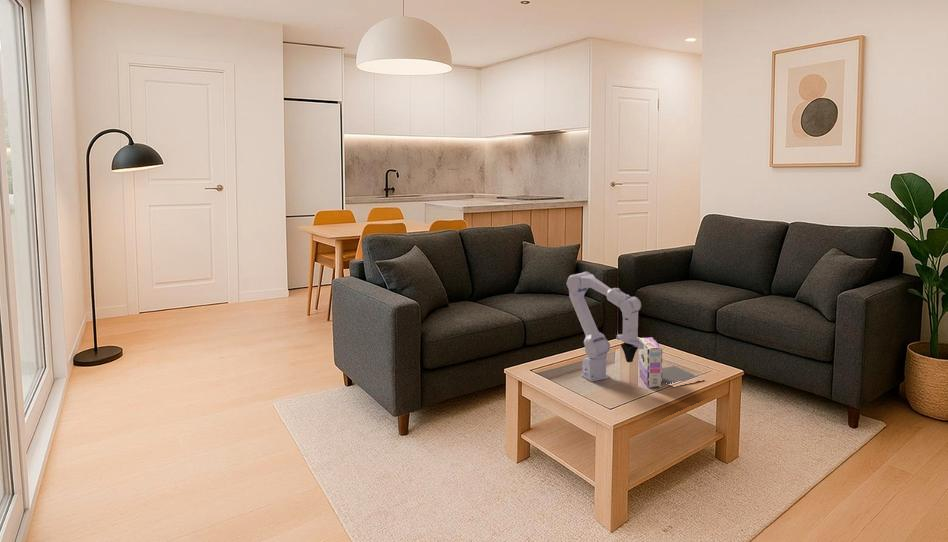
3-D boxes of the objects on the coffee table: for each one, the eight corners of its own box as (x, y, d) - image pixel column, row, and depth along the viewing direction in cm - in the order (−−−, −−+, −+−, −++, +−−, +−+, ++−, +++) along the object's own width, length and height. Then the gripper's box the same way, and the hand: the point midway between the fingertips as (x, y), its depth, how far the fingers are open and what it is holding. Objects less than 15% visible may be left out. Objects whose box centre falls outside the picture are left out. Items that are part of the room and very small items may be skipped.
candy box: (662, 387, 237) (662, 347, 233) (647, 388, 237) (647, 348, 233) (653, 374, 250) (653, 336, 247) (638, 374, 250) (638, 337, 247)
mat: (673, 387, 237) (673, 386, 237) (644, 372, 253) (644, 371, 253) (705, 380, 243) (705, 379, 243) (674, 366, 259) (674, 365, 259)
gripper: (650, 331, 229) (649, 365, 232) (627, 322, 243) (626, 354, 245) (635, 334, 227) (634, 368, 229) (612, 324, 240) (612, 357, 242)
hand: (629, 361), depth 237 cm, fingers closed
